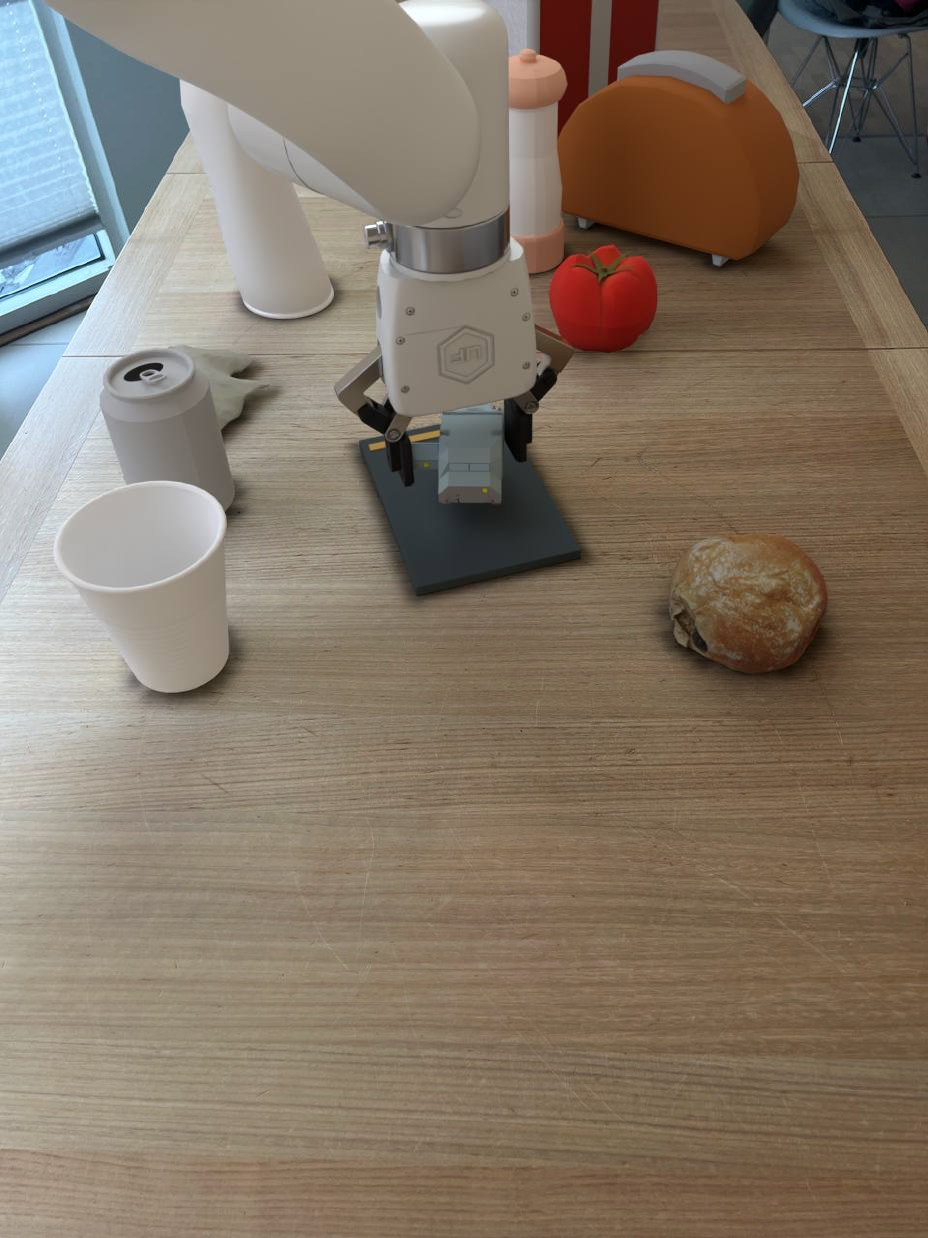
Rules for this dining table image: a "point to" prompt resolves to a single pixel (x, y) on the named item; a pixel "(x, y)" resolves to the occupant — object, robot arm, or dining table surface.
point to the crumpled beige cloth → (224, 379)
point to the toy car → (467, 455)
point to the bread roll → (747, 601)
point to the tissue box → (582, 39)
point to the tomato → (603, 299)
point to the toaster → (680, 156)
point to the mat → (468, 522)
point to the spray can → (257, 219)
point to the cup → (153, 578)
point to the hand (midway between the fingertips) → (460, 462)
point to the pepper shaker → (535, 158)
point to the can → (165, 422)
